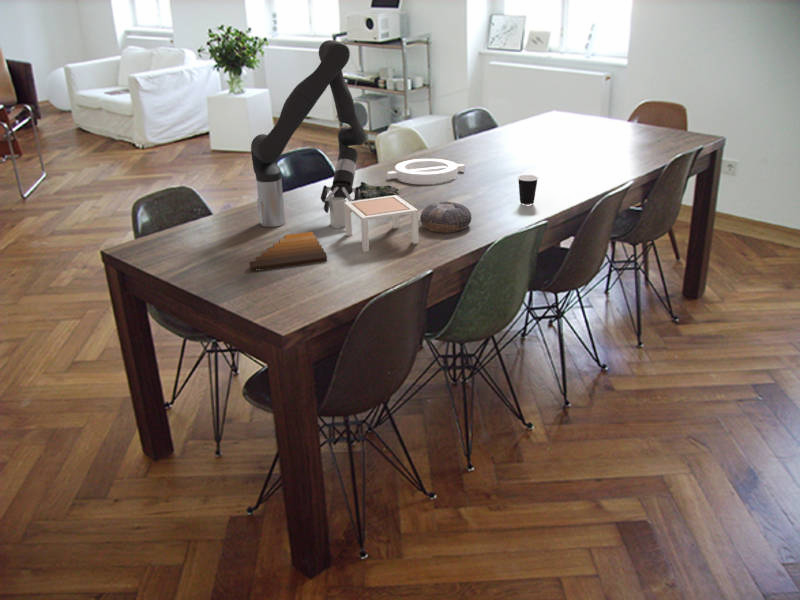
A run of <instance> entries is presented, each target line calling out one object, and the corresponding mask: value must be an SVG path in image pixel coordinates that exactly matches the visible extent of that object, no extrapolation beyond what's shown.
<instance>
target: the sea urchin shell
mask: <svg viewBox="0 0 800 600" xmlns="http://www.w3.org/2000/svg"><path fill="white" fill-rule="evenodd" d="M419 218H420V223H421V225H423V227H424V228H425V229H427V230H430V231H431V232H434V233H435V232H436V233H442V234H448V233H449V232H450V233H453V232H455V231H456V232H458V231H460V230H462V231H463V230H465V229H466V228H467V227H468V226H469V225H470V224H471V223H472V222H471V221H472V212H471V211H470V209H469V208H468V207H466V206H465V205H463V204H461V203H457V202H455V201H447V200H445V201H440V202H435V203H431V204H429V205H427V206H425V207H424V208H423V209H422V211H421V214H420V216H419ZM456 232H455V233H456ZM450 233H449V234H450Z"/></svg>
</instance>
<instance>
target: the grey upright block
mask: <svg viewBox="0 0 800 600" xmlns="http://www.w3.org/2000/svg"><path fill="white" fill-rule="evenodd" d="M344 202H347V199H346V198H345V199H344V198H343V197H337V198H329V218H330V220H329V221H330V225H331V226H332V227H333V228H334V229H338V228H345V212H344Z"/></svg>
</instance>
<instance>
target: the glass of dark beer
mask: <svg viewBox="0 0 800 600" xmlns="http://www.w3.org/2000/svg"><path fill="white" fill-rule="evenodd" d="M538 179H539V177H538V176H537V175H534V174H524V175H523V174H522V175H519V176H518V177H517V180H518V192H519V193H518V194H519V203H520V205H521V204H524V205H530V204H533V205H534V203H535V197H536V192H537V191H536V190H537V186H538Z"/></svg>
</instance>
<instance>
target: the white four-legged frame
mask: <svg viewBox="0 0 800 600" xmlns="http://www.w3.org/2000/svg"><path fill="white" fill-rule="evenodd" d="M386 198H394V199H395V200H396V201H398V202H399V203H401V204H402V205H403V206H405V207H406V208H408V210H402V211H396V212H389V213H382V214H375V215H368V216H365V215H364V214H363V213H362V212H361V211H359V210H358V209H357V208H356V207H355V206H353V203H358V202H365V201H372V200H379V199H386ZM351 211H352V212H351ZM344 212H345V227H344V229H345V235H346V236H353V230H352V229H353V228H352V213H353V214H354V215H355V216H356V217H357V218H359V220H360V227H361V246H362V248H361V249H362V252H364V253H366V252H370V244H369V243H370V242H369V241H370V240H369V221H371V220H378V219H386V218H391V219H392V228H393V229H399V228H400V218H399V217H400V216H405V215H410V223H411V225H410V226H411V231H410V232H411V243H412V244H413V245H415V244H419V210H418V209H417V208H416V207H414V206H413V205H411V204H410V203H408V202H407V201H406V200H404V199H403V198H401V197H400V196H399V195H398V194H397V195H392V196H385V195H384V196H379V197H377V198H376V197H374V198H371V199H366V198H364V199H359V200H357V201H350V202H349V201H346V202H344Z"/></svg>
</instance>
